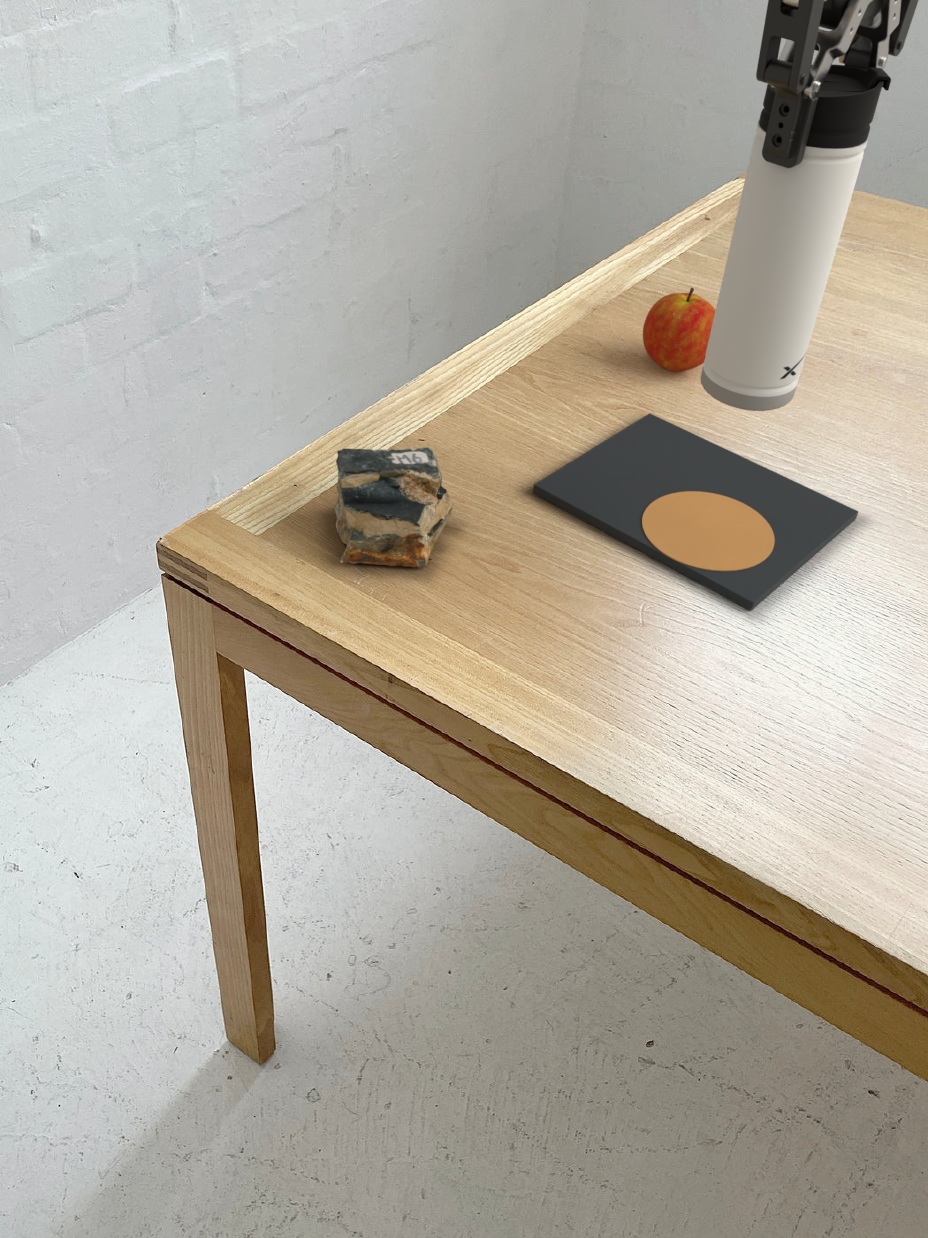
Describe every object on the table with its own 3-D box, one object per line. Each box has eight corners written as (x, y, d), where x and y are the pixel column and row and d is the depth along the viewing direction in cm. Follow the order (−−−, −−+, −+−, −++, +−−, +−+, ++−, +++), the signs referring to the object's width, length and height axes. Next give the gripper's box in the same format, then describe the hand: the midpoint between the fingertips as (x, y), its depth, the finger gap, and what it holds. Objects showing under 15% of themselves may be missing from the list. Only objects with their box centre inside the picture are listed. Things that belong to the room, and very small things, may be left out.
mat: (856, 519, 89) (859, 510, 89) (750, 611, 80) (753, 601, 79) (648, 420, 99) (649, 411, 98) (532, 492, 89) (533, 483, 89)
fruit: (626, 351, 108) (640, 271, 103) (693, 346, 110) (710, 267, 104) (653, 387, 103) (669, 305, 98) (722, 382, 105) (742, 301, 99)
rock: (341, 574, 80) (340, 509, 76) (332, 498, 87) (331, 434, 83) (461, 569, 81) (466, 504, 78) (443, 494, 88) (447, 431, 85)
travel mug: (807, 416, 73) (906, 89, 60) (706, 409, 73) (783, 80, 60) (788, 369, 78) (875, 56, 65) (693, 362, 78) (762, 48, 65)
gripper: (909, -190, 48) (807, 199, 59) (1033, -201, 57) (923, 141, 68) (757, -212, 52) (687, 159, 63) (895, -219, 60) (812, 109, 71)
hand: (810, 149), depth 65 cm, fingers closed on travel mug, 6 cm apart
